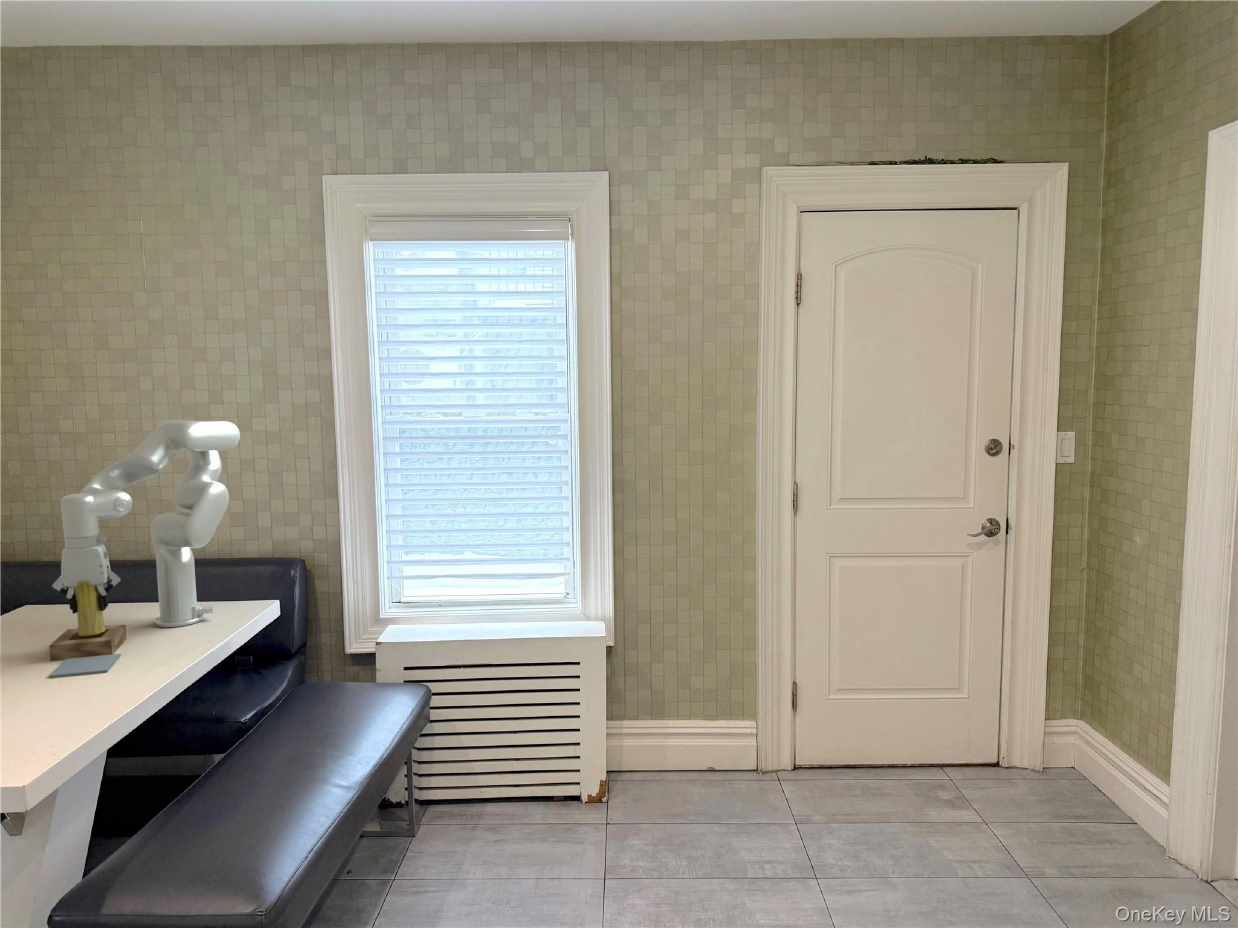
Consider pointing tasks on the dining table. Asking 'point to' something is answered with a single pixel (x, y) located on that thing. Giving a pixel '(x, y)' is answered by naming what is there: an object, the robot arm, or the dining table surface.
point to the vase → (88, 609)
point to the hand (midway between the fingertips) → (89, 609)
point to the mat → (85, 665)
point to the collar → (87, 643)
